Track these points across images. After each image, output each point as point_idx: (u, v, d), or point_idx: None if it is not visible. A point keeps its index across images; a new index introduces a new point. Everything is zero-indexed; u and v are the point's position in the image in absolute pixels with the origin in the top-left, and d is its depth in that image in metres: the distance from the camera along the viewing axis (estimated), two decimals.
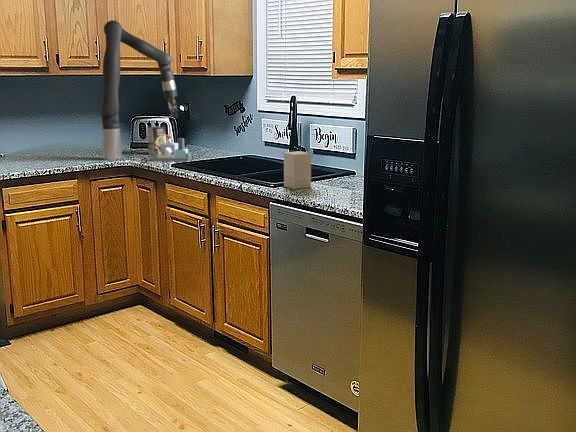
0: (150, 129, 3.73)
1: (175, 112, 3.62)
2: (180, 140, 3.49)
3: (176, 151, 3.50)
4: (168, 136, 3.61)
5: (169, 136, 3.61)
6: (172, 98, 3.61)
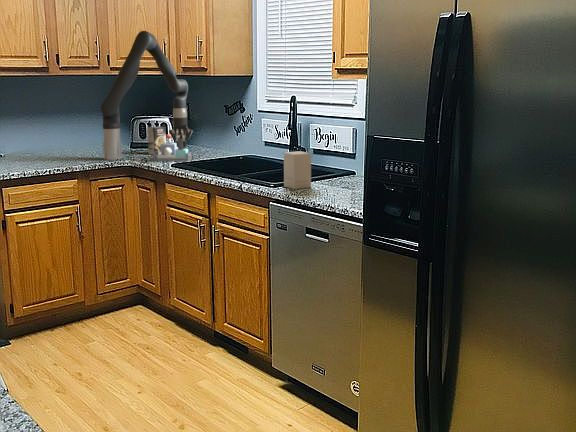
0: (150, 129, 3.73)
1: None
2: (180, 140, 3.49)
3: (176, 151, 3.50)
4: (168, 136, 3.61)
5: (169, 136, 3.61)
6: None
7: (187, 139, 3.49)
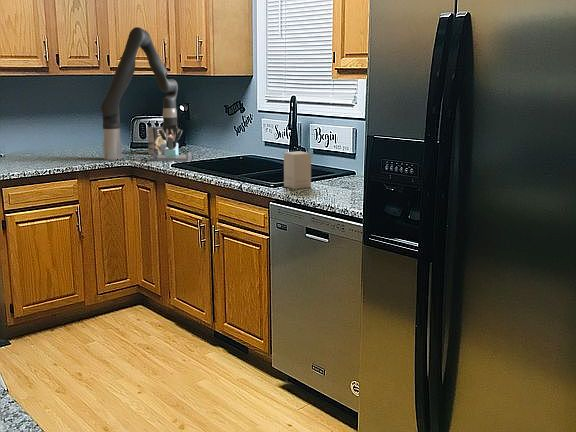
0: (150, 129, 3.73)
1: None
2: (170, 140, 3.50)
3: (166, 151, 3.51)
4: None
5: None
6: None
7: (177, 139, 3.50)
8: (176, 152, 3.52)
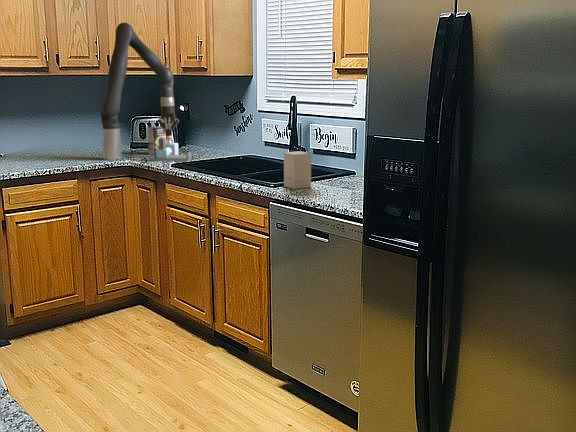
0: (150, 129, 3.73)
1: None
2: (161, 140, 3.50)
3: (157, 151, 3.52)
4: (168, 137, 3.61)
5: (169, 137, 3.61)
6: None
7: (172, 127, 3.60)
8: (167, 152, 3.53)
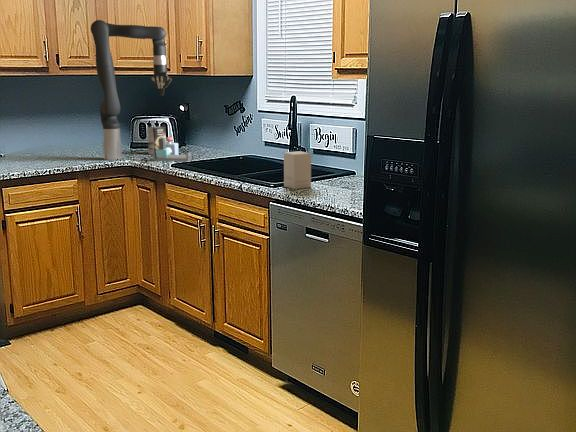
0: (150, 129, 3.73)
1: None
2: (161, 140, 3.50)
3: (157, 151, 3.52)
4: (168, 139, 3.62)
5: (169, 139, 3.62)
6: None
7: (165, 86, 3.57)
8: (167, 152, 3.53)
